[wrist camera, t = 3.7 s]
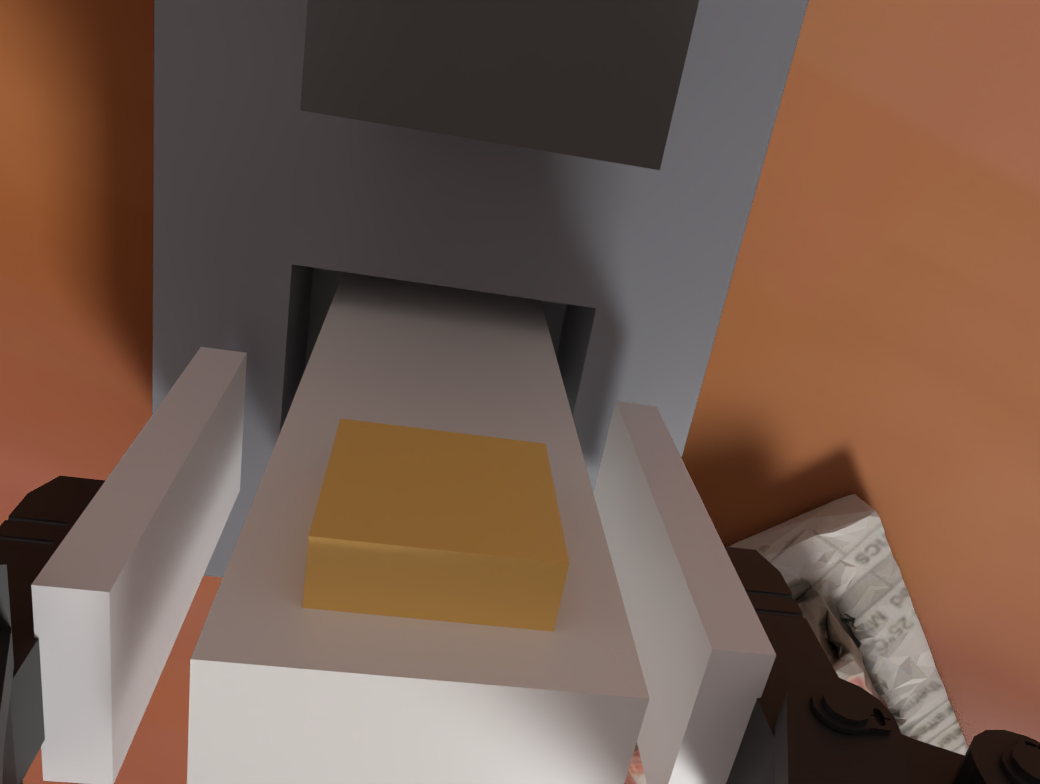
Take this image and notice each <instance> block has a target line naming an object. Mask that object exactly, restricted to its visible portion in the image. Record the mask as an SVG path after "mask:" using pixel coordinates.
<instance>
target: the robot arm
mask: <svg viewBox="0 0 1040 784" xmlns="http://www.w3.org/2000/svg"><path fill="white" fill-rule="evenodd" d="M246 361H247V353H245V352H237V351H230V350H222V349H214V348H207V347H200V349H199V350H198V352H197V353H196V354H195V356H194V357H193V359H192V360H191V361H190V363H189V364H188V366H187V367H186V368H185V370H184V371H183V373H182V374H181V375H180V377H179V378H178V380H177V381H176V382H175V384H174V385H173V387H172V388H171V389H170V391H169V392H168V394H167V395H166V396H165V398H164V399H163V401H162V402H161V403H160V405H159V406H158V408H157V409H156V411H155V412H154V413H153V415H152V416H151V418H150V419H149V420H148V422H147V423H146V425H145V426H144V427H143V429H142V430H141V432H140V433H139V434H138V436H137V437H136V439H135V440H134V441H133V443H132V444H131V446H130V447H129V448H128V450H127V451H126V453H125V454H124V455H123V457H122V458H121V460H120V461H119V462H118V464H117V465H116V467H115V468H114V469H113V471H112V472H111V474H110V475H109V476H108V478H107V479H106V481H103V480H94V479H85V478H76V477H67V476H59V477H57V478H55V479H53V480H51V481H50V482H48V483H46V484H44V485H42V486H41V487H39V488H37V489H35V490H33V491H31V492H30V493H28V494H27V495H26V496H25V497H24V499H23V500H22V501H21V502H20V503H19V505H18V506H17V507H16V508H15V509H14V510H13V512H12V513H11V514H10V515H9V519H8V520H5V521H4V522H3V523H2V525H1V526H0V784H23V778H24V776H25V775H26V773H27V771H28V769H29V767H30V766H31V764H32V762H33V760H34V758H35V756H36V755H37V753H38V751H39V749H40V747H41V750H42V766H43V781H56V782H71V783H86V784H114V782H115V780H116V777H117V775H118V773H119V770H120V768H121V766H122V763H123V761H124V759H125V756H126V754H127V752H128V749H129V747H130V745H131V742H132V740H133V738H134V735H135V733H136V731H137V728H138V726H139V724H140V721H141V719H142V717H143V714H144V712H145V710H146V707H147V705H148V703H149V701H150V698H151V696H152V694H153V691H154V689H155V687H156V684H157V682H158V680H159V677H160V675H161V673H162V670H163V668H164V666H165V663H166V661H167V659H168V656H169V654H170V652H171V649H172V647H173V645H174V642H175V640H176V638H177V635H178V633H179V631H180V628H181V626H182V624H183V621H184V619H185V617H186V615H187V612H188V610H189V608H190V605H191V603H192V601H193V598H194V596H195V594H196V591H197V589H198V587H199V584H200V582H201V580H202V577H203V575H204V573H205V570H206V568H207V566H208V563H209V561H210V559H211V556H212V554H213V552H214V549H215V547H216V545H217V542H218V540H219V538H220V536H221V533H222V531H223V529H224V526H225V524H226V522H227V519H228V517H229V515H230V512H231V510H232V508H233V505H234V503H235V501H236V498H237V496H238V494H239V491H240V479H241V459H242V439H243V420H244V400H245V380H246ZM594 497H595V501H596V504H597V508H598V512H599V515H600V519H601V523H602V526H603V530H604V534H605V537H606V541H607V544H608V548H609V552H610V555H611V559H612V563H613V566H614V570H615V574H616V577H617V581H618V585H619V588H620V592H621V596H622V599H623V603H624V607H625V610H626V614H627V618H628V621H629V625H630V629H631V632H632V636H633V639H634V643H635V647H636V650H637V654H638V658H639V661H640V665H641V669H642V672H643V676H644V680H645V683H646V687H647V691H648V694H649V698H650V699H649V703H648V706H647V709H646V713H645V716H644V719H643V723H642V726H641V729H640V733H639V736H638V739H637V745H638V749H639V753H640V757H641V761H642V766H643V770H644V774H645V778H646V782H647V784H1040V743H1039V742H1037V741H1036V740H1034V739H1031V738H1029V737H1027V736H1024V735H1020V734H1017V733H1013V732H1010V731H1006V730H985V731H984V732H982V733H980V734H978V735H976V736H974V738H973V740H972V742H971V744H970V746H969V748H968V750H967V752H966V754H965V755H962V754H959V753H956V752H952V751H949V750H946V749H943V748H940V747H937V746H934V745H931V744H928V743H925V742H922V741H919V740H916V739H913V738H911V737H908V736H906V735H903V734H901V731H900V729H899V727H898V724H897V722H896V720H895V718H894V715H893V714H892V713H891V712H890V711H889V710H888V709H887V708H886V707H885V706H884V704H883V703H882V702H881V701H880V700H879V699H877V698H876V697H875V696H873V695H872V694H870V693H869V692H867V691H866V690H864V689H863V688H861V687H860V686H858V685H855V684H853V683H851V682H848V681H846V680H844V679H841V678H839V677H838V675H837V673H836V671H835V670H834V668H833V666H832V664H831V662H830V661H829V659H828V657H827V655H826V653H825V652H824V650H823V648H822V646H821V644H820V643H819V641H818V639H817V637H816V635H815V634H814V632H813V630H812V628H811V626H810V625H809V623H808V621H807V619H806V618H803V612H802V610H801V609H800V607H799V605H798V603H797V601H796V600H795V599H792V595H793V594H792V592H791V591H790V589H789V587H788V585H787V583H786V582H785V580H784V578H783V576H782V574H781V573H780V571H779V570H778V569H777V568H775V567H774V566H773V565H772V564H771V563H770V562H769V561H768V560H767V559H765V558H764V557H763V556H762V555H761V554H760V553H759V552H758V551H757V550H753V549H744V548H735V547H726V546H724V545H723V543H722V541H721V539H720V537H719V535H718V533H717V531H716V529H715V527H714V525H713V522H712V520H711V518H710V516H709V514H708V512H707V510H706V508H705V506H704V504H703V502H702V500H701V498H700V496H699V493H698V491H697V489H696V487H695V485H694V483H693V481H692V479H691V477H690V475H689V473H688V471H687V469H686V466H685V464H684V462H683V460H682V458H681V456H680V454H679V452H678V450H677V448H676V446H675V444H674V442H673V440H672V437H671V435H670V433H669V431H668V429H667V427H666V425H665V423H664V421H663V419H662V417H661V415H660V413H659V410H658V408H657V406H651V405H644V404H636V403H628V402H621V401H616V402H615V406H614V410H613V414H612V419H611V423H610V427H609V431H608V435H607V440H606V444H605V448H604V452H603V457H602V461H601V465H600V469H599V473H598V478H597V482H596V486H595V490H594Z"/></svg>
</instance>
